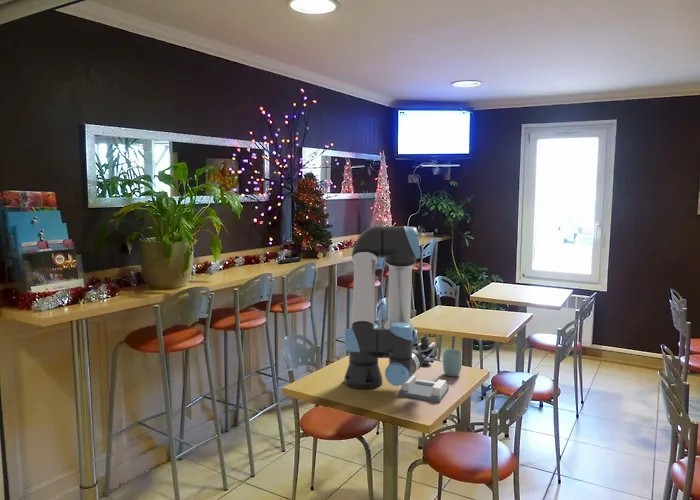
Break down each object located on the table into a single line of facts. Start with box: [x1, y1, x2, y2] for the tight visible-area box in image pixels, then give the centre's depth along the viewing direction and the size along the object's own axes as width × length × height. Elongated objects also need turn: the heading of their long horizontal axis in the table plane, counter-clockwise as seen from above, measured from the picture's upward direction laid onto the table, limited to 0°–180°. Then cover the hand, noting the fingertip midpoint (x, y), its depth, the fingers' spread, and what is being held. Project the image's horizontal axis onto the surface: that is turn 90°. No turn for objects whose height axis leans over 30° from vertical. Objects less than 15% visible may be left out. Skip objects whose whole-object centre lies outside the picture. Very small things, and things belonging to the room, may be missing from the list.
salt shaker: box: [420, 334, 432, 369], centre depth 199 cm, size 6×6×12 cm
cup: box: [442, 348, 463, 377], centre depth 220 cm, size 8×8×10 cm
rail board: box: [397, 374, 450, 403], centre depth 201 cm, size 16×13×4 cm
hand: (428, 344), depth 204 cm, fingers closed on salt shaker, 3 cm apart
